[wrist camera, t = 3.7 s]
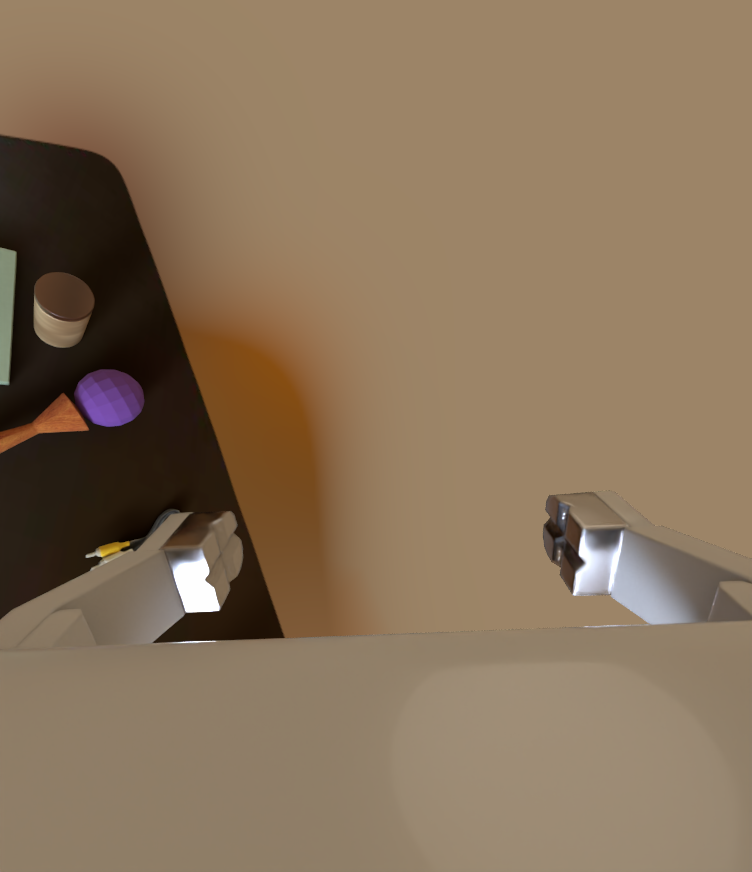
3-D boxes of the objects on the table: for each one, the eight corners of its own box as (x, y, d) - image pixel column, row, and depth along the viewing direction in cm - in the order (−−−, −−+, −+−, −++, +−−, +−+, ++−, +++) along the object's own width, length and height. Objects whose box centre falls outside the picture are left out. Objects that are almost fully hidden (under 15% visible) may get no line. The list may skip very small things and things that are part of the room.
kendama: (-166, 450, 27) (123, 352, 39) (-121, 462, 32) (124, 372, 43) (-111, 518, 28) (156, 402, 39) (-76, 519, 33) (153, 416, 44)
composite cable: (173, 503, 46) (179, 504, 44) (192, 536, 47) (198, 538, 45) (80, 554, 39) (82, 557, 37) (104, 590, 40) (108, 596, 39)
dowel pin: (32, 343, 38) (33, 311, 31) (34, 305, 38) (35, 265, 31) (82, 351, 41) (93, 323, 33) (84, 315, 41) (95, 280, 34)
